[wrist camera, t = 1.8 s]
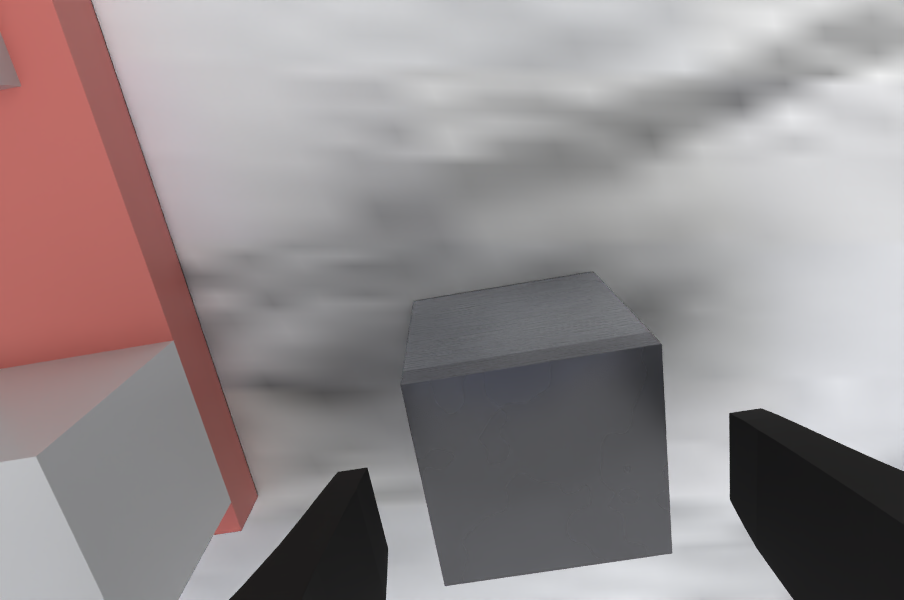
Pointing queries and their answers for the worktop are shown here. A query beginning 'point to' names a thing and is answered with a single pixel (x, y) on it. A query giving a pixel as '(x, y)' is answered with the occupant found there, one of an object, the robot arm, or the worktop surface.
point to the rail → (96, 340)
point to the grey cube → (537, 428)
